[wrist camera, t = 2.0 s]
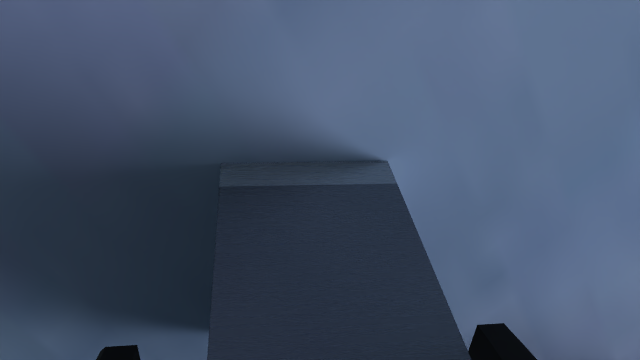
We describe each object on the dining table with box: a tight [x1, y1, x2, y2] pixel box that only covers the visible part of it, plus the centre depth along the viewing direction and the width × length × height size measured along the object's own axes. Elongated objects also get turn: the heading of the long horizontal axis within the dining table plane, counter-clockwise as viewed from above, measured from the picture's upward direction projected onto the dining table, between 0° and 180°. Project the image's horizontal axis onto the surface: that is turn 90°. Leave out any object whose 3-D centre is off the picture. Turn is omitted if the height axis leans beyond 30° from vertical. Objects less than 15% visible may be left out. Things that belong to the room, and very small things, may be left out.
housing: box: [207, 161, 471, 360], centre depth 12 cm, size 4×6×6 cm, turn 177°
